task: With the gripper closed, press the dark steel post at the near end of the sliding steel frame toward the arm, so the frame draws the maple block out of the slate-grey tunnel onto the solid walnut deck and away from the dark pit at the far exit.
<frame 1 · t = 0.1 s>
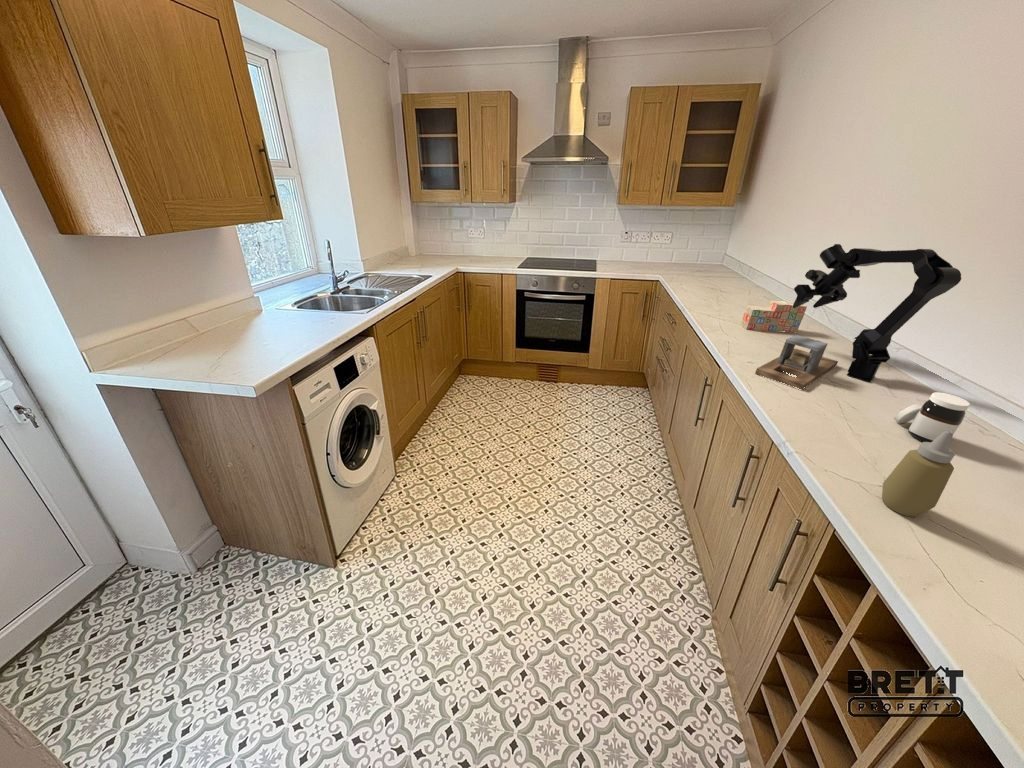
hand: (803, 307, 157), 15 cm above the counter, tool tilted 30°, fingers open, 9 cm apart
stack of blocks: (767, 329, 178), on the counter
tunnel deck: (794, 371, 139), on the counter
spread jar: (917, 433, 106), on the counter
squeeze bottle: (899, 507, 81), on the counter
sled: (806, 353, 140), point 5 cm above the counter, slide at 0.0 cm
maple block: (796, 365, 138), point 2 cm above the counter, touching tunnel deck
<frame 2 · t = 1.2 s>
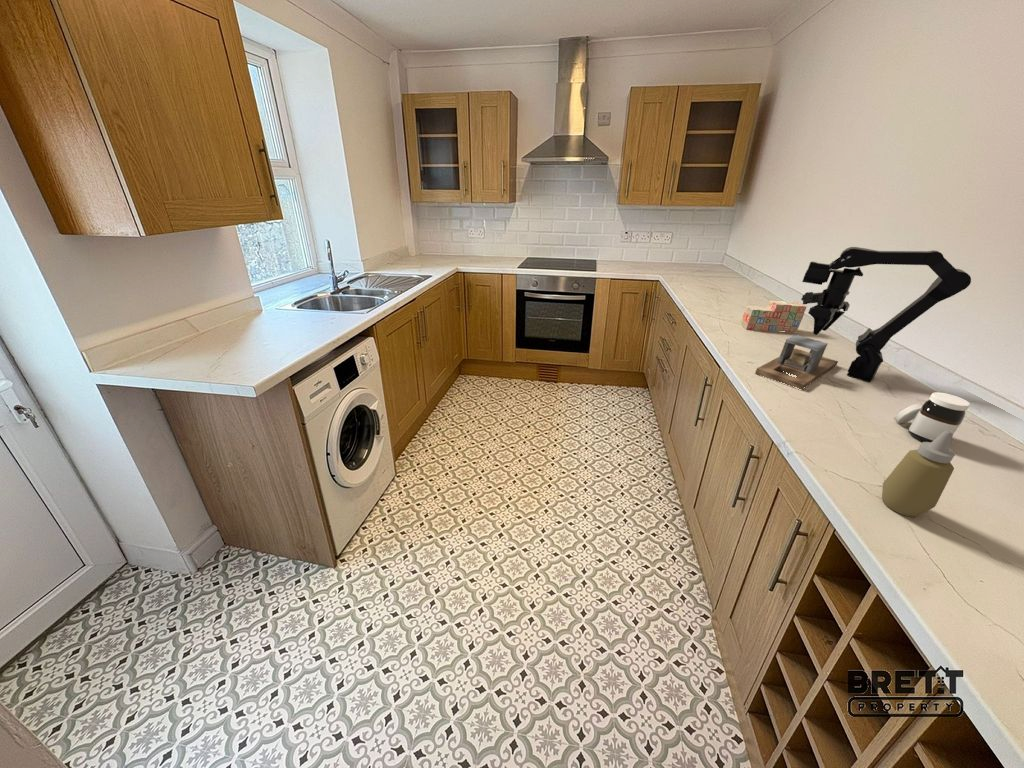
hand: (819, 332, 139), 12 cm above the counter, tool pointing down, fingers open, 8 cm apart
nothing on the counter moved.
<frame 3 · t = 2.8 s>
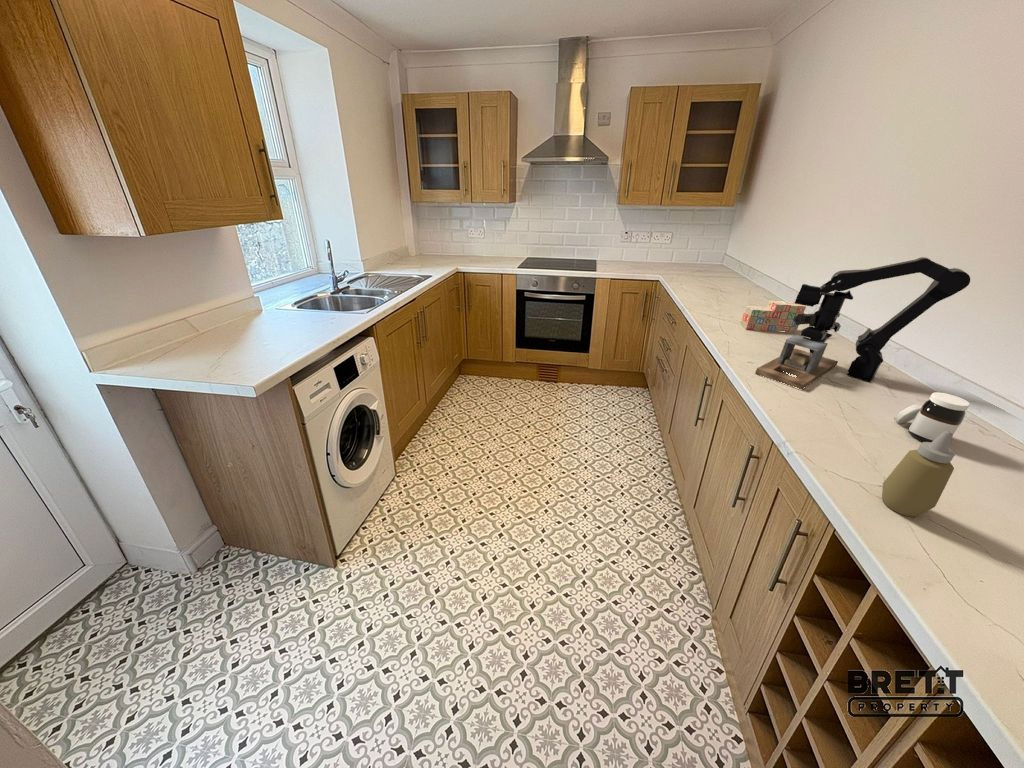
hand: (811, 352, 143), 5 cm above the counter, tool pointing down, fingers closed
sled: (807, 353, 140), point 5 cm above the counter, slide at -0.2 cm, touching gripper
everything else where it was.
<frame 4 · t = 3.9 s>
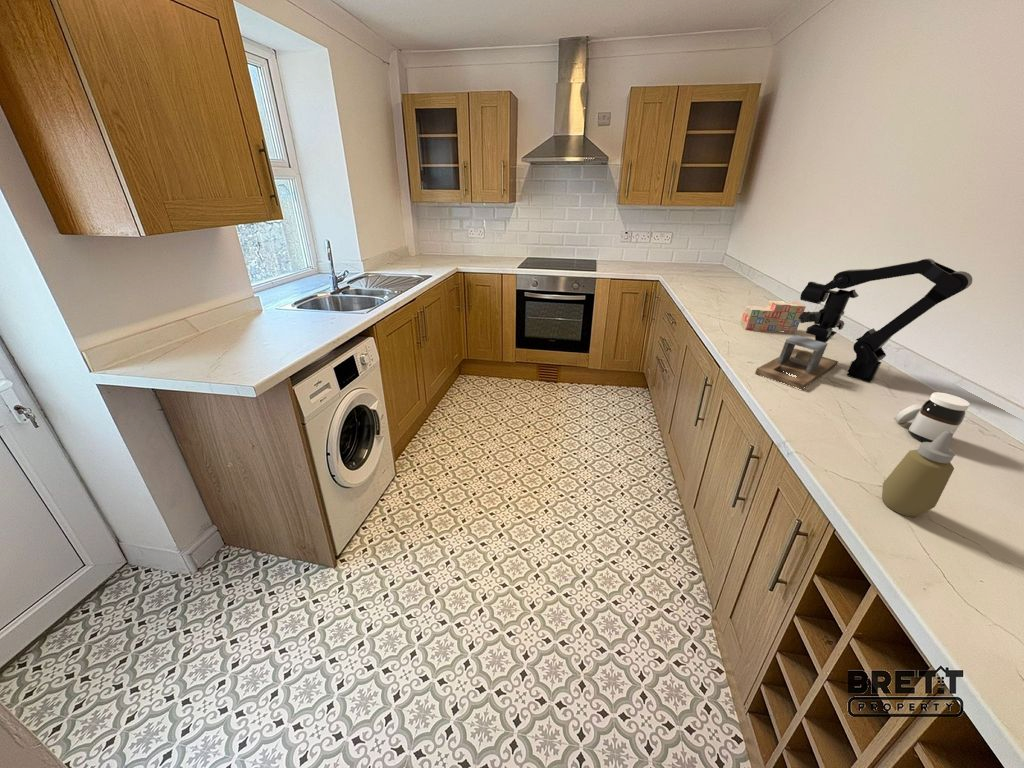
hand: (816, 349, 145), 5 cm above the counter, tool pointing down, fingers closed
sled: (812, 350, 142), point 5 cm above the counter, slide at -4.8 cm, touching gripper, maple block
maple block: (801, 363, 140), point 2 cm above the counter, touching sled
everything else where it was.
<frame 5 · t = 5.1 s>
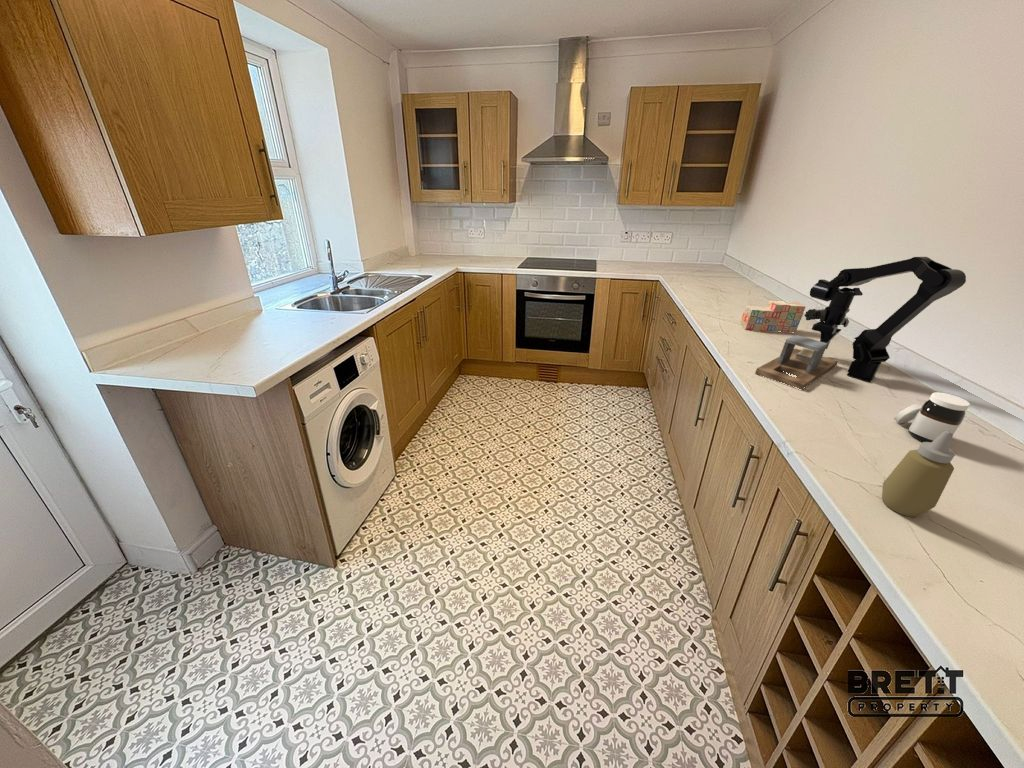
hand: (821, 346, 148), 5 cm above the counter, tool pointing down, fingers closed
sled: (817, 347, 145), point 5 cm above the counter, slide at -10.1 cm, touching gripper, maple block
maple block: (807, 359, 143), point 2 cm above the counter, touching sled, tunnel deck
everything else where it was.
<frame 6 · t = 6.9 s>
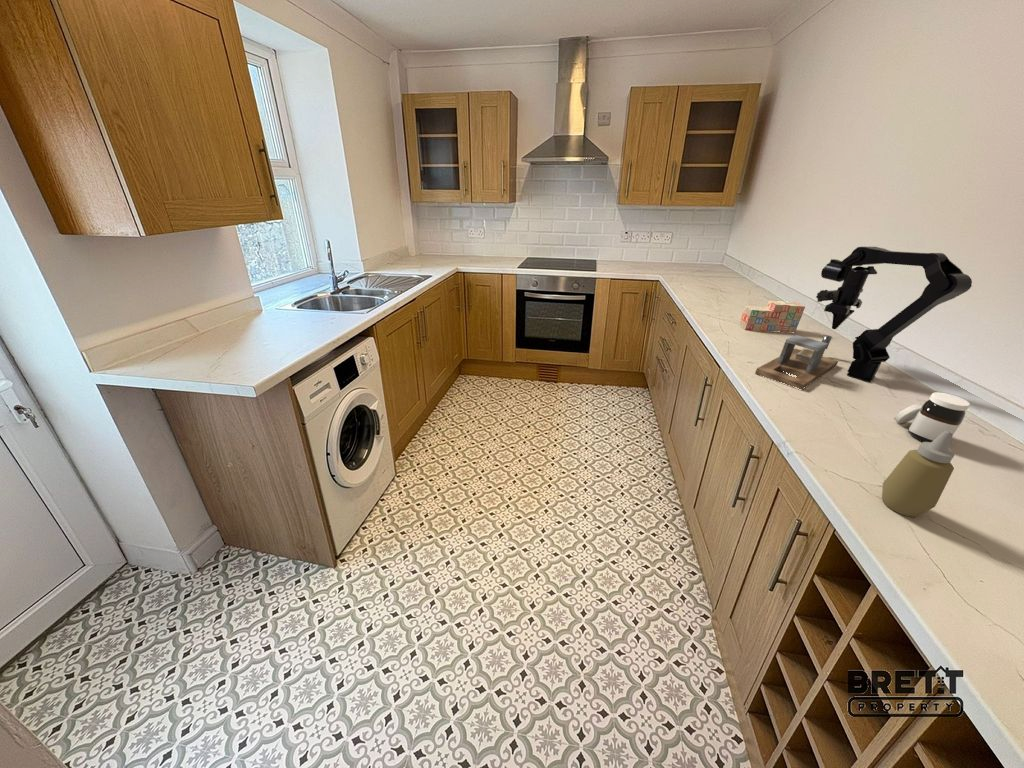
hand: (833, 328, 144), 12 cm above the counter, tool pointing down, fingers closed
sled: (817, 347, 145), point 5 cm above the counter, slide at -10.0 cm
maple block: (807, 359, 143), point 2 cm above the counter, touching tunnel deck
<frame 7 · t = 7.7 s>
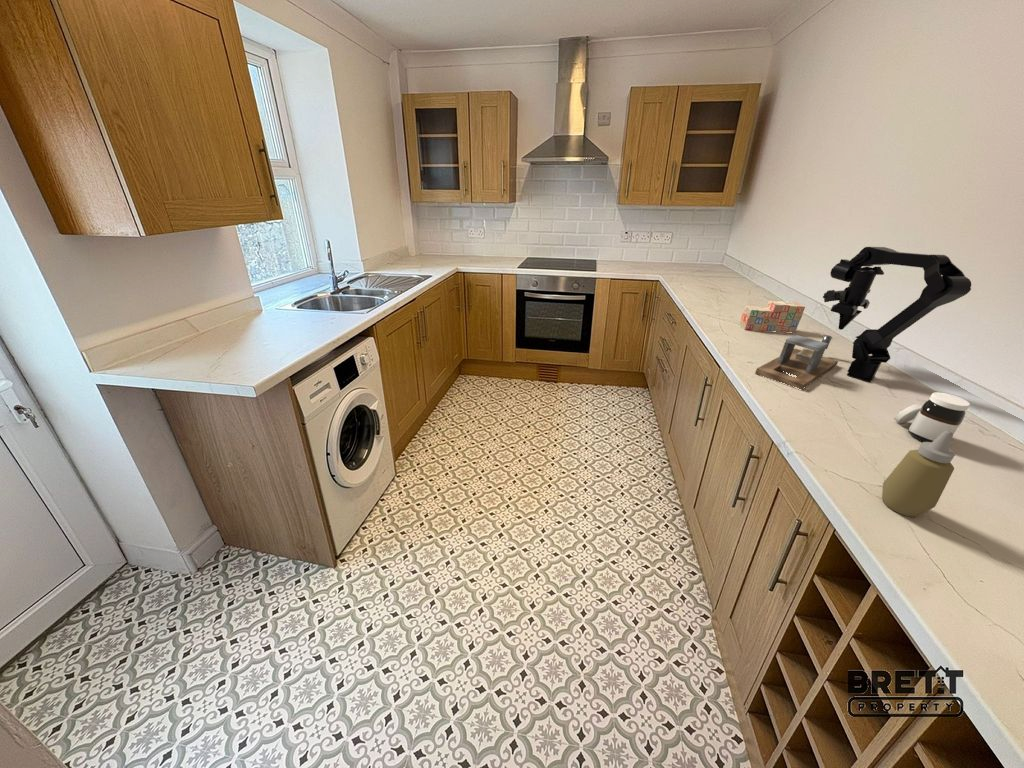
hand: (840, 329, 143), 12 cm above the counter, tool pointing down, fingers closed
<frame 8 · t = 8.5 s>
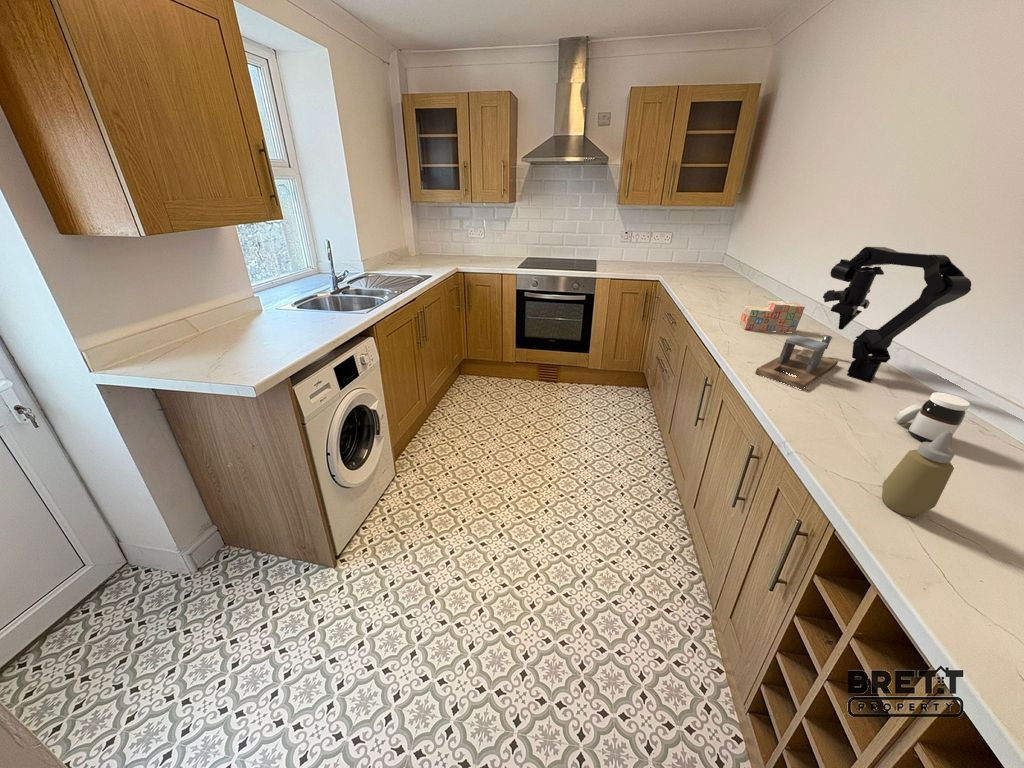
hand: (840, 329, 143), 12 cm above the counter, tool pointing down, fingers closed
at the end: maple block 1.1 cm from the target spot on the tunnel deck, point 2.0 cm above the tunnel deck's base; sled slide at -10.0 cm; maple block tilted 0° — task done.
